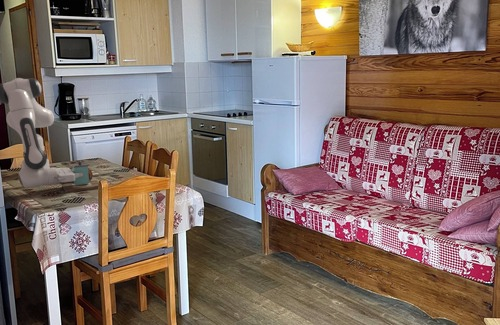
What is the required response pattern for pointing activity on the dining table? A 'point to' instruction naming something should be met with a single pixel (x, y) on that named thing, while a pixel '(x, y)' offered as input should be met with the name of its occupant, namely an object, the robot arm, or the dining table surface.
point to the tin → (88, 172)
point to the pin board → (80, 187)
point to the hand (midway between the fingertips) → (81, 173)
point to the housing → (78, 169)
